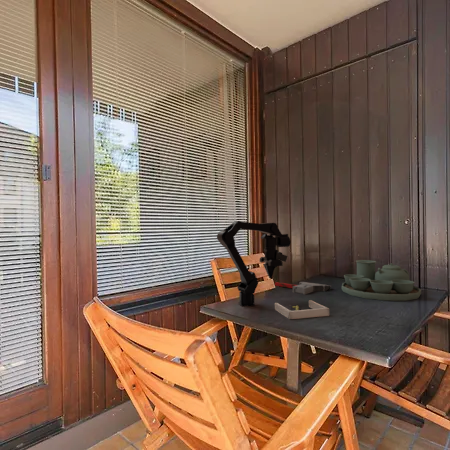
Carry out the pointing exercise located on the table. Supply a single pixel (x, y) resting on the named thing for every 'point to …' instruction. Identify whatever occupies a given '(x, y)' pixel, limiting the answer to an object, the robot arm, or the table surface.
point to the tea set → (380, 283)
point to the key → (296, 307)
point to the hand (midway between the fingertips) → (270, 278)
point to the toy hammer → (304, 287)
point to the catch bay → (304, 311)
